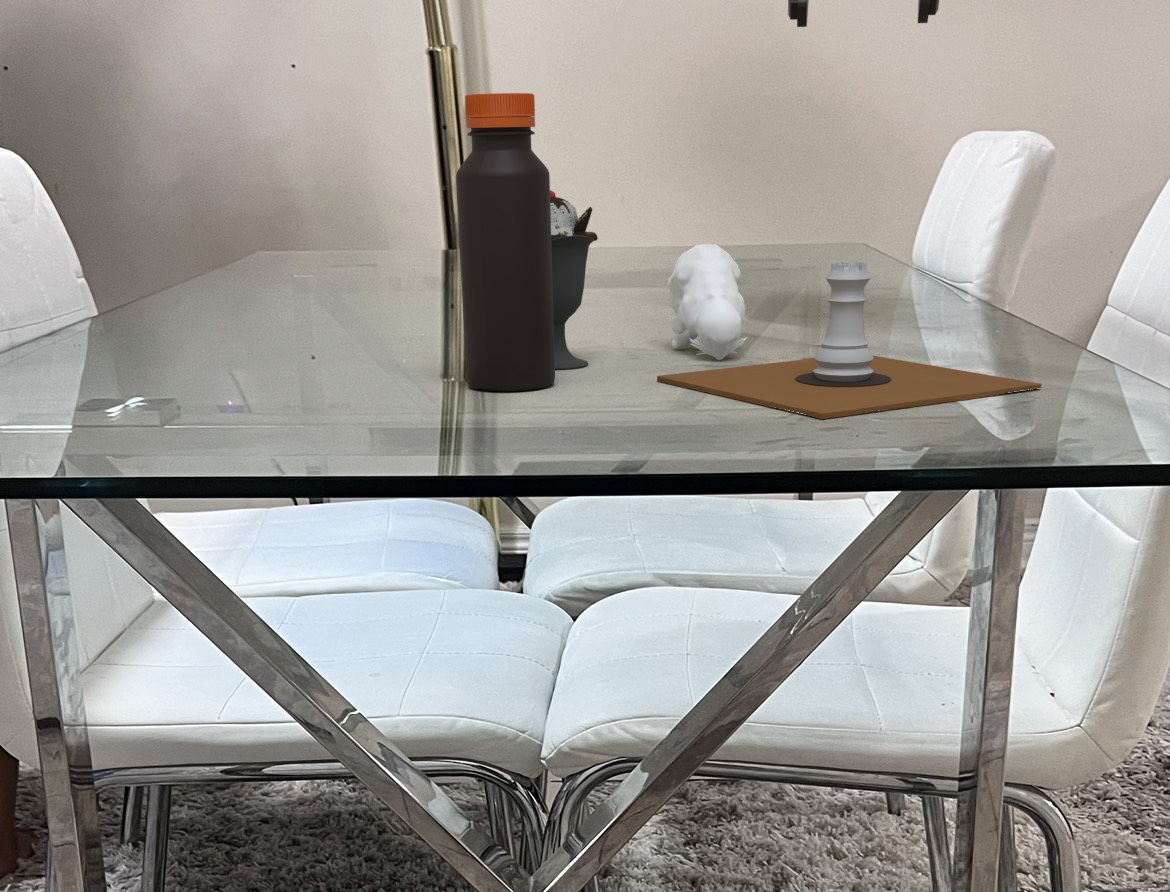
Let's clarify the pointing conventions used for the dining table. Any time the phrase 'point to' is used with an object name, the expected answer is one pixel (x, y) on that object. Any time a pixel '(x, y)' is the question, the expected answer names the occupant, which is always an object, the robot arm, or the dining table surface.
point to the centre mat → (845, 386)
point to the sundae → (567, 271)
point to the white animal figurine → (707, 301)
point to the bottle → (505, 248)
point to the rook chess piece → (845, 327)
